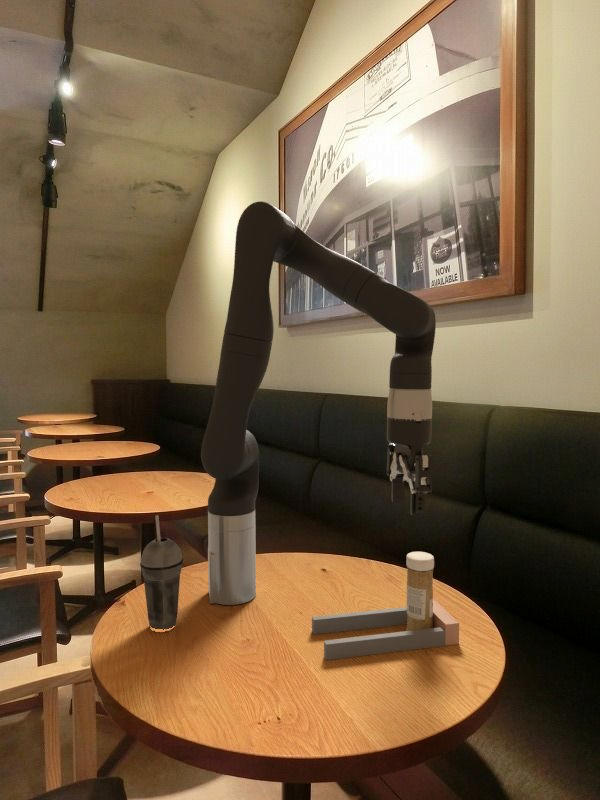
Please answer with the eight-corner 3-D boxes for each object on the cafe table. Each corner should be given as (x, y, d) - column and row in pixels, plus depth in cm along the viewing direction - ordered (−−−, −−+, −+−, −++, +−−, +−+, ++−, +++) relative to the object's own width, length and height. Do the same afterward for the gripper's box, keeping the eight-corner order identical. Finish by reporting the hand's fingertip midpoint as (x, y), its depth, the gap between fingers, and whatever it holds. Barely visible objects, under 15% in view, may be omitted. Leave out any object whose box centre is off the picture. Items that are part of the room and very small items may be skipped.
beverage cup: (192, 620, 96) (190, 510, 95) (169, 639, 89) (167, 521, 88) (157, 614, 98) (155, 506, 97) (132, 632, 91) (129, 517, 90)
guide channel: (326, 660, 82) (326, 638, 82) (311, 631, 92) (311, 611, 91) (458, 643, 87) (459, 623, 87) (432, 617, 96) (433, 598, 96)
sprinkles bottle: (438, 634, 90) (439, 556, 90) (419, 642, 88) (420, 561, 87) (418, 623, 94) (419, 548, 93) (400, 630, 92) (400, 553, 91)
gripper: (374, 411, 98) (372, 499, 99) (404, 419, 84) (402, 521, 85) (413, 411, 99) (410, 497, 100) (449, 419, 85) (446, 519, 86)
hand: (407, 508), depth 92 cm, fingers open, 8 cm apart
